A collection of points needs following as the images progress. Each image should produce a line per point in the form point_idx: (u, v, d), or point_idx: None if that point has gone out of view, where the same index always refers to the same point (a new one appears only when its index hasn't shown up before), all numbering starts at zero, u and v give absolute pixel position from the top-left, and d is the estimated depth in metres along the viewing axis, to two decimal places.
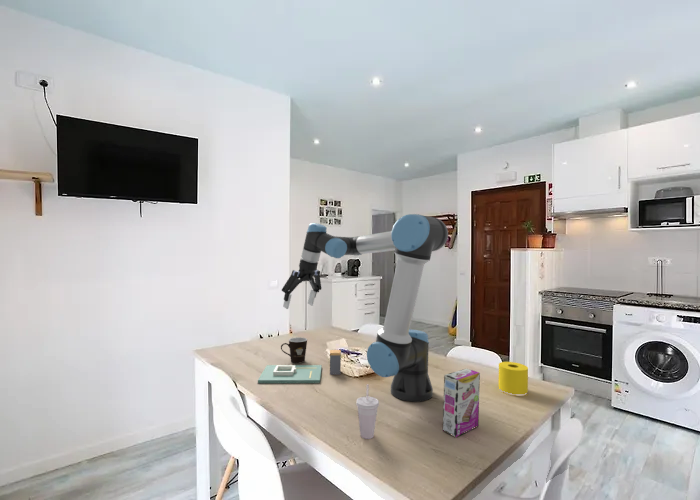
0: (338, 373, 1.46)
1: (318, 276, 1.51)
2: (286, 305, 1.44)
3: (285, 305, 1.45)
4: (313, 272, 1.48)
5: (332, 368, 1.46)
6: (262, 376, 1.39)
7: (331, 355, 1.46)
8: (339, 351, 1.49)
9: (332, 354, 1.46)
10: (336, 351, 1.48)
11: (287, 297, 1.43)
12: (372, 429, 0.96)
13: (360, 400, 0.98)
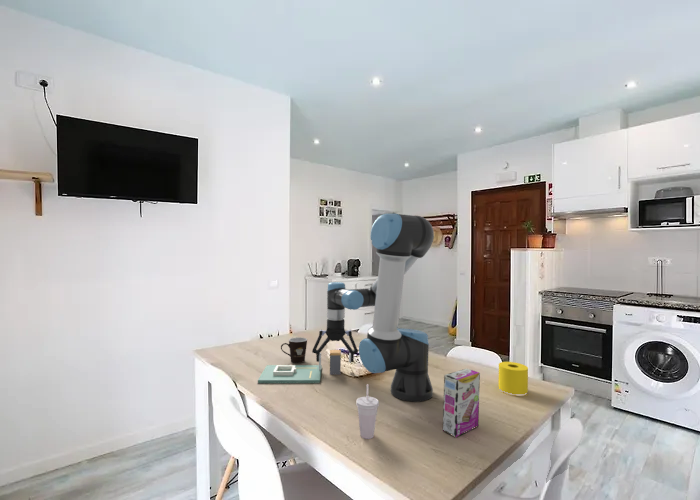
0: (338, 373, 1.46)
1: (350, 337, 1.48)
2: None
3: (319, 366, 1.48)
4: (342, 331, 1.48)
5: (332, 368, 1.46)
6: (262, 376, 1.39)
7: (331, 355, 1.46)
8: (339, 351, 1.49)
9: (332, 354, 1.46)
10: (336, 351, 1.48)
11: (317, 357, 1.47)
12: (372, 429, 0.96)
13: (360, 400, 0.98)
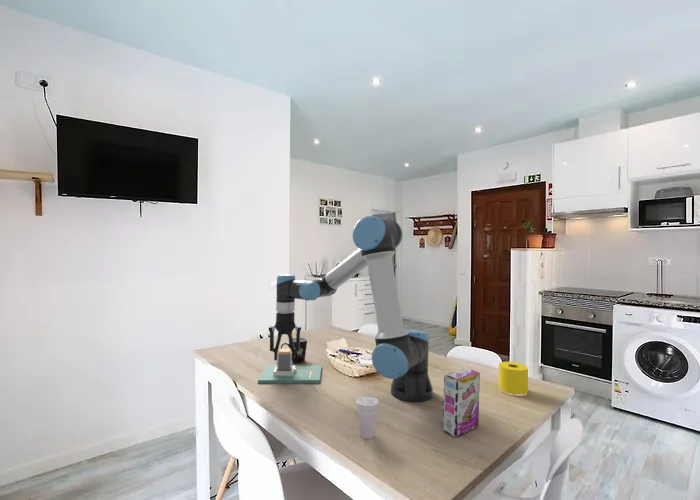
0: None
1: (297, 333, 1.44)
2: (277, 365, 1.44)
3: (277, 365, 1.44)
4: (292, 325, 1.44)
5: (280, 367, 1.42)
6: (262, 376, 1.39)
7: (280, 354, 1.42)
8: (289, 350, 1.45)
9: (281, 353, 1.42)
10: (286, 350, 1.45)
11: (275, 356, 1.44)
12: (372, 429, 0.96)
13: (360, 400, 0.98)
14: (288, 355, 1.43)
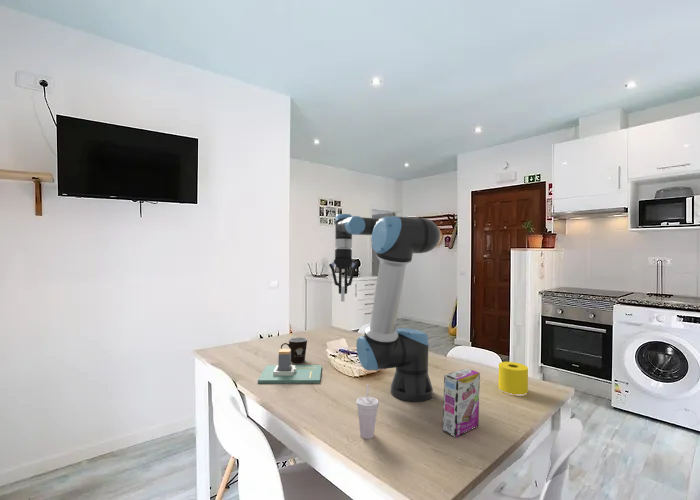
0: None
1: (353, 269, 1.56)
2: (341, 298, 1.56)
3: (341, 298, 1.57)
4: (350, 260, 1.56)
5: (280, 367, 1.42)
6: (262, 376, 1.39)
7: (280, 354, 1.42)
8: (289, 350, 1.45)
9: (281, 353, 1.42)
10: (286, 350, 1.45)
11: (339, 289, 1.56)
12: (372, 429, 0.96)
13: (360, 400, 0.98)
14: (288, 355, 1.43)
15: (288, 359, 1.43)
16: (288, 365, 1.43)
